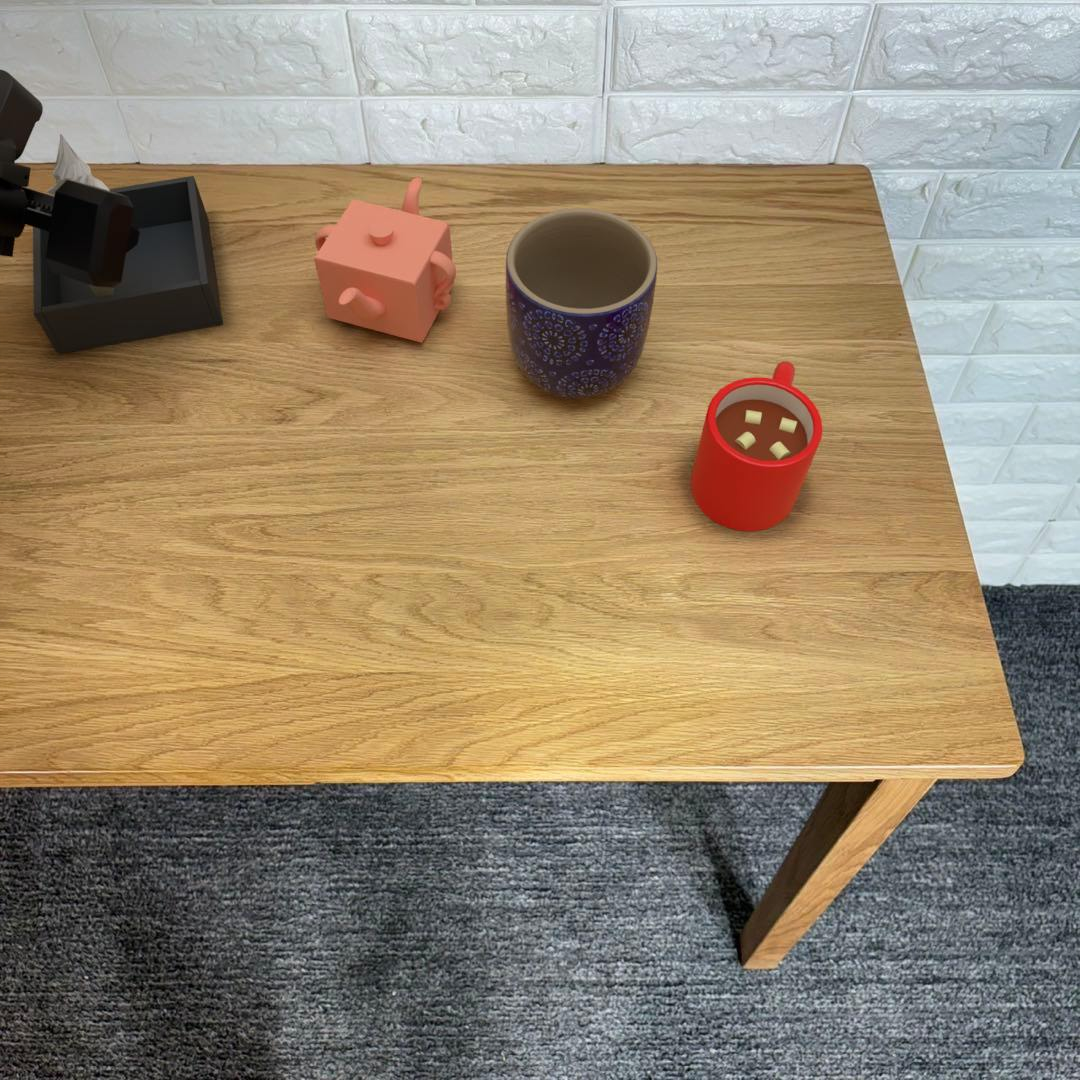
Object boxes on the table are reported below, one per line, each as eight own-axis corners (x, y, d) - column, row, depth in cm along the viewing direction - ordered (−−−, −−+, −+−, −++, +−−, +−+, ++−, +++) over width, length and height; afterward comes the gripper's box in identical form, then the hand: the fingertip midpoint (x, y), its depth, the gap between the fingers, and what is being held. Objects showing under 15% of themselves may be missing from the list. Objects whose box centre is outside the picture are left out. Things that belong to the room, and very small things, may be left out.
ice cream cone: (149, 295, 84) (107, 121, 73) (130, 332, 80) (83, 155, 69) (89, 289, 84) (37, 114, 72) (67, 325, 80) (9, 148, 69)
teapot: (288, 351, 81) (265, 274, 74) (364, 231, 88) (350, 150, 81) (424, 389, 79) (414, 313, 72) (490, 262, 86) (487, 182, 79)
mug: (817, 421, 78) (845, 352, 71) (783, 544, 72) (809, 481, 65) (719, 393, 79) (737, 323, 72) (677, 512, 73) (693, 447, 66)
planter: (592, 296, 84) (601, 187, 75) (669, 380, 80) (689, 275, 70) (482, 347, 81) (476, 240, 72) (555, 438, 76) (559, 337, 67)
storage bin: (57, 354, 80) (33, 313, 76) (54, 244, 87) (32, 201, 83) (223, 324, 82) (208, 283, 78) (208, 218, 89) (193, 175, 85)
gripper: (58, 91, 58) (211, 142, 72) (-199, 18, 61) (-2, 81, 76) (30, 283, 60) (183, 295, 75) (-213, 203, 64) (-21, 229, 79)
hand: (85, 221), depth 76 cm, fingers open, 9 cm apart
